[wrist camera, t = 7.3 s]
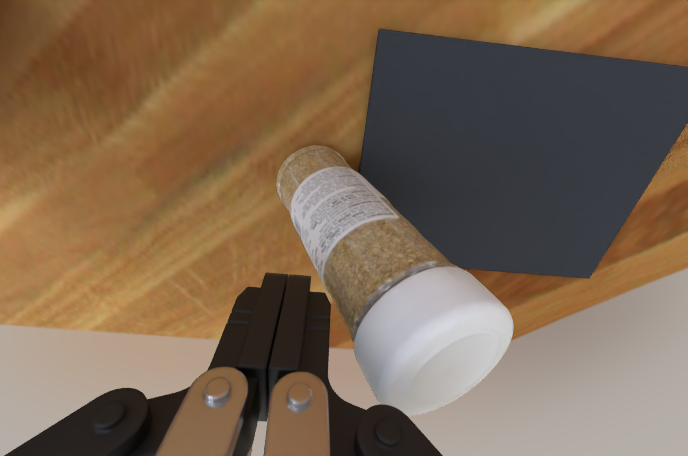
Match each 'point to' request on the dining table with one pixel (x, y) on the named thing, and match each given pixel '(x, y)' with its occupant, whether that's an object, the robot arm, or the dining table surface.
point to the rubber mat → (516, 147)
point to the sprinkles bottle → (392, 287)
